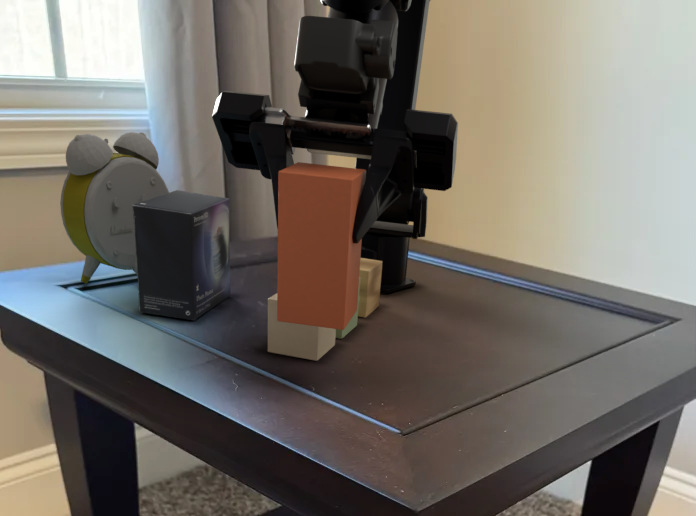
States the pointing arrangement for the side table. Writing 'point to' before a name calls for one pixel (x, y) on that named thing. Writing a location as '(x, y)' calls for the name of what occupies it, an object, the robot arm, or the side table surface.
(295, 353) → the cube
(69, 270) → the side table surface
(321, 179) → the tall block
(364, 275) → the cube
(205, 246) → the small box
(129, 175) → the alarm clock
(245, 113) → the robot arm
